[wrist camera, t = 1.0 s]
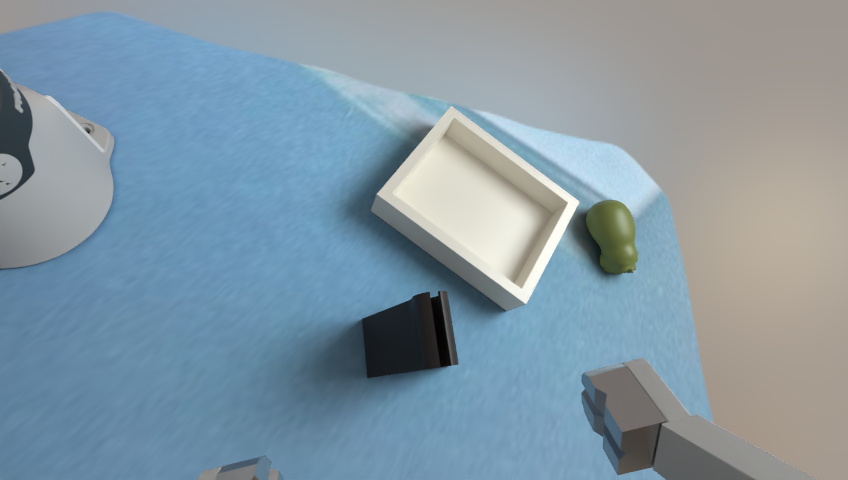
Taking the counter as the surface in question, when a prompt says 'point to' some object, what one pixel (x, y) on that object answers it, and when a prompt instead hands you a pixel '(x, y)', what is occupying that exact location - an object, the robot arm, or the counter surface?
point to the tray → (477, 209)
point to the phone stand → (410, 336)
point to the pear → (613, 235)
